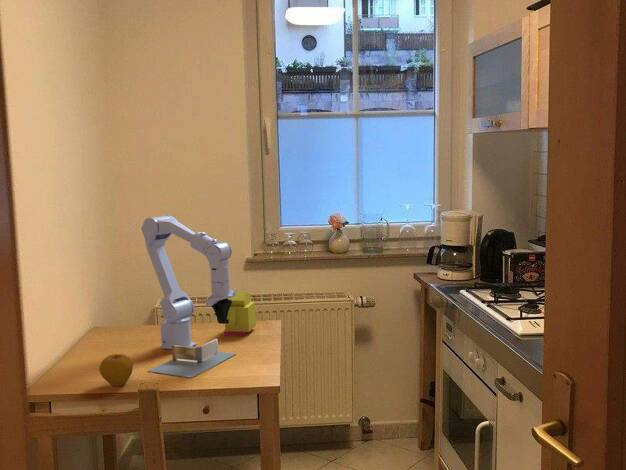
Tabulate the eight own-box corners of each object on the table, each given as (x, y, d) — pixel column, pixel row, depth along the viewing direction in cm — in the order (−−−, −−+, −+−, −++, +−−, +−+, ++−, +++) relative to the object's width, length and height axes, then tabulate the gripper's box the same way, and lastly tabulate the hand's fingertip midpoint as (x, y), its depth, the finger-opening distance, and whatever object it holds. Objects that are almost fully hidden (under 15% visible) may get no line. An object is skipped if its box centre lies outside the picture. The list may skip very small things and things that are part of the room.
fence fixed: (196, 363, 197) (195, 347, 196) (215, 353, 206) (214, 338, 205) (200, 364, 196) (199, 348, 196) (219, 354, 205) (218, 339, 205)
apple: (93, 389, 178) (91, 357, 177) (114, 378, 186) (112, 348, 185) (120, 392, 175) (118, 360, 174) (140, 381, 183) (138, 350, 182)
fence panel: (197, 361, 198) (196, 346, 198) (195, 362, 197) (194, 347, 196) (173, 358, 201) (172, 344, 201) (171, 360, 200) (170, 345, 199)
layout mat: (147, 371, 191) (147, 370, 191) (194, 349, 211) (194, 348, 211) (191, 378, 184) (191, 377, 184) (235, 354, 204) (235, 353, 204)
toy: (231, 326, 238) (229, 286, 236) (258, 327, 236) (256, 287, 234) (219, 337, 225) (217, 294, 223) (247, 337, 223) (245, 295, 221)
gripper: (218, 286, 195) (220, 330, 197) (242, 277, 208) (244, 318, 210) (198, 285, 198) (201, 328, 200) (224, 276, 211) (226, 316, 213)
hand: (222, 323), depth 205 cm, fingers closed
